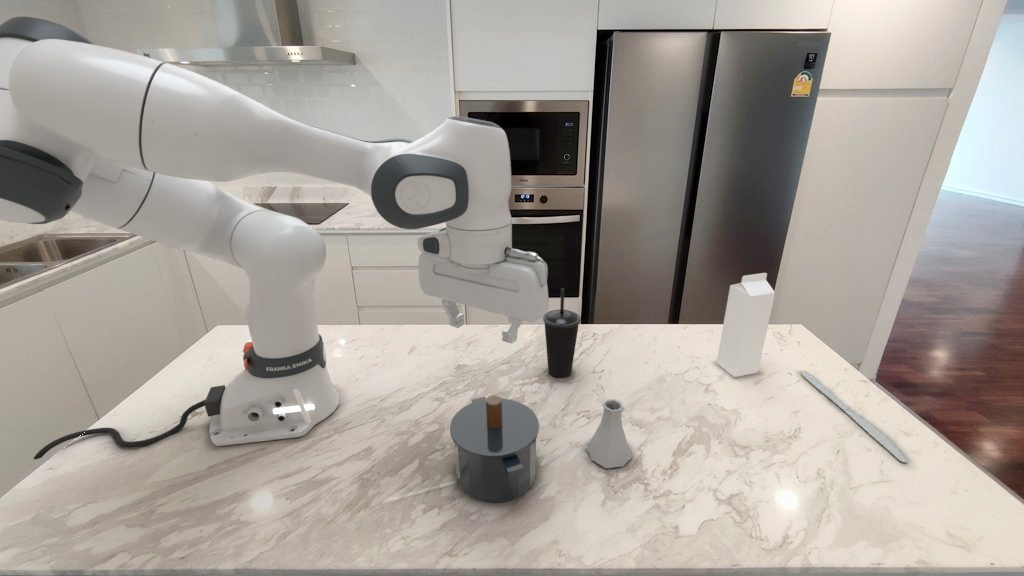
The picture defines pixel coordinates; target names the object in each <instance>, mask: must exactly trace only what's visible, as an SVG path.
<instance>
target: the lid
mask: <svg viewBox="0 0 1024 576" xmlns="http://www.w3.org/2000/svg"><path fill="white" fill-rule="evenodd" d="M539 432H540V422H539V419H538V416H537V415H536V413H535V412H534V410H532V409H531V407H529V406H527V405H526V404H525V403H522V402H520V401H517V400H514V399H509V398H502V397H501V396H499V395H490V396H488V397H486V399H483V400H479V401H476V402H473V403H472V402H471V403H469V404H467V405H464V406H463V407H461V409H459V410H458V411H457V412H456V413H455V414H454V416H453V417H452V419H451V421H450V424H449V433H450V437H451V441H452V442H453V443H454V444H455V445H456V446H457V447H458V448H459V449H461V450H462V451H464V452H465V453H467V454H469V455H472V456H475V457H479V458H485V459H500V458H506V457H510V456H514V455H516V454H519V453H521V452H523V451H524V450H526V449H527V448H529V447H530V446H531V445H532V444H533V443H534V441H535V440H536V441H537V438H538V435H539ZM454 444H453V445H454Z"/></svg>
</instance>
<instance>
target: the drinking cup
mask: <svg viewBox="0 0 1024 576" xmlns="http://www.w3.org/2000/svg"><path fill="white" fill-rule="evenodd" d="M559 307H560V309H553V310H548V311H547V312H546V313H545V314H544V315H543V316H542V322H544V333H545V346H546V358H547V359H546V360H547V371H548V374H549V376H550V377H552V378H554V379H559V380H560V379H567V378H569V377H570V376H571V375H572V372H573V371H572V370H573V366H574V365H573V364H574V357H575V352H576V344H577V338H578V331H579V326H580V325H579V324H580V323H581V320H582V319H581V316H580V315H579V314H578V313H577V312H576V311H571V310H568V309H565V288H563V287H561V288H560V305H559Z"/></svg>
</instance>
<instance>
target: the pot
mask: <svg viewBox="0 0 1024 576" xmlns="http://www.w3.org/2000/svg"><path fill="white" fill-rule="evenodd" d="M483 399H487V397H486V396H482V397H477V398H472V399H471V403H473V402H476V401H479V400H483ZM453 446H454V458H455V472H456V473H455V474H456V477H457V482H458V484H459V486H460V488H461V489H462V491H464V493H465V494H466V495H468V496H470V497H471V498H473V499H475V500H477V501H480V502H485V503H488V504H489V503H492V504H498V503H499V504H500V503H507V502H511V501H514V500H516V499H518V498H519V497H522V496H523V495H524V494H526V493H527V492H528V490H530V488H531V487H532V485H533V484H534V482H535V479H536V475H537V439H536V440H535V441H534V443H533V444H532V445H531V446H530V447H529V448H527V449H526V450H524V451H523V452H521V453H519V454H516V455H514V456H510V457H506V458H500V459H485V458H479V457H475V456H472V455H469V454H467V453H465V452H464V451H462V450H461V449H459V448H458V447H457V446H456V445H455V444H453Z"/></svg>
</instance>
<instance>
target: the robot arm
mask: <svg viewBox="0 0 1024 576" xmlns="http://www.w3.org/2000/svg"><path fill="white" fill-rule="evenodd" d="M511 165H512V161H511V152H510V146H509V141H508V137H507V133H506V132H505V130H504V128H502V127H501V126H500V125H498V124H497V123H495V122H493V121H487V120H483V119H478V118H476V119H475V118H472V117H466V116H460V115H459V116H458V115H457V116H455V115H454V116H451V117H447V118H446V119H445V121H444V122H443V123H442V124H440V125H439V126H438V127H436V128H435V129H434V130H432V131H431V132H429V133H427V134H425V135H424V136H422V137H420V138H418V139H416V140H414V141H413V140H410V139H405V138H390V139H389V138H388V139H381V140H374V141H373V140H371V141H370V140H369V141H368V140H362V139H358V138H355V137H351V136H347V135H343V134H341V133H337V132H334V131H330V130H328V129H327V130H326V129H323V128H320V127H316V126H313V125H309V124H306V123H302V122H300V121H297V120H294V119H292V118H290V117H288V116H286V115H284V114H281V113H280V112H277V111H275V110H273V109H272V108H269V107H268V106H266V105H264V104H262V103H261V102H258V101H256V100H255V99H253V98H251V97H249V96H247V95H246V94H243V93H241V92H240V91H237V90H235V89H233V88H231V87H229V86H227V85H225V84H224V83H221V82H219V81H216V80H214V79H212V78H210V77H207V76H205V75H202V74H200V73H197V72H194V71H192V70H189V69H187V68H184V67H181V66H178V65H175V64H172V63H168V62H165V61H162V60H158V59H155V58H152V57H148V56H145V55H141V54H138V53H133V52H129V51H125V50H122V49H117V48H114V47H113V48H112V47H107V46H104V45H97V44H95V43H94V42H93V41H91V40H90V39H88V37H85V36H84V35H83V34H82V33H79V32H78V31H76V30H74V29H72V28H69V27H67V26H65V25H64V24H60V23H59V22H58V23H57V22H56V21H52V20H48V19H45V18H38V17H32V16H13V17H10V18H9V19H7V20H6V21H3V22H2V23H1V24H0V221H2V222H6V223H7V222H8V223H17V224H29V225H46V224H49V223H52V222H55V221H56V222H57V221H58V220H61V219H63V218H64V217H65V216H67V215H68V213H69V212H73V213H75V214H77V215H80V216H82V217H85V218H87V219H89V220H92V221H95V222H97V223H100V224H103V225H106V226H108V227H110V228H114V229H117V230H121V231H123V232H126V233H130V234H133V235H136V236H139V237H141V238H144V239H148V240H150V241H153V242H157V243H160V244H163V245H166V246H169V247H171V248H173V249H174V248H175V249H178V250H181V251H185V252H190V253H193V254H197V255H200V256H204V257H208V258H211V259H213V260H217V261H220V262H223V263H226V264H229V265H232V266H234V267H237V268H239V269H241V270H243V271H245V273H246V275H247V278H248V281H249V302H248V304H247V306H246V307H245V311H244V317H245V319H246V324H247V327H248V331H249V335H250V339H251V341H248V342H247V341H246V342H245V344H244V345H243V349H242V352H243V358H242V361H243V368H244V369H243V370H242V371H241V372H240V373H238V374H237V375H236V376H235V377H234V378H233V379H231V380H230V381H229V383H227V385H225V384H222V385H216V386H211V387H210V388H209V391H208V393H207V395H206V397H205V399H203V400H201V401H199V402H197V403H194V404H192V405H191V406H189V407H188V408H187V409H186V410H185V411H184V412H183V413H182V415H181V417H180V421H179V423H178V424H177V425H175V426H174V427H172V428H171V429H170V430H168V431H165V432H163V433H161V434H159V435H157V436H153V437H151V438H147V439H143V440H136V441H126V440H124V439H123V438H122V436H121V434H120V432H119V431H118V430H117V429H115V428H113V427H98V428H91V429H85V430H80V431H76V432H72V433H70V434H66V435H63V436H61V437H59V438H57V439H54V440H53V441H50V442H49V443H48V444H46V445H44V447H42V448H40V450H39V451H38V452H37V453H36V454H35V456H34V457H33V460H39V459H40V458H43V457H44V455H46V454H47V453H48V452H49V451H51V450H52V449H54V448H55V447H57V446H59V445H61V444H63V443H65V442H68V441H70V440H73V439H77V438H81V437H85V436H91V435H97V434H109V435H111V436H112V437H113V439H114V442H115V443H116V445H118V446H119V447H121V448H127V449H129V448H138V447H143V446H147V445H148V446H149V445H152V444H155V443H157V442H159V441H162V440H164V439H166V438H169V437H170V436H172V435H174V434H176V433H178V432H179V431H180V430H182V429H183V428H184V427H185V426H186V425H187V422H188V418H189V416H190V415H191V414H192V413H193V412H195V411H197V410H199V409H200V408H203V407H204V408H205V411H206V415H207V417H212V418H211V421H210V423H209V431H208V433H209V438H210V442H211V443H212V444H213V445H214V446H216V447H223V446H232V445H242V444H251V443H259V442H268V441H277V440H278V441H279V440H285V439H295V438H301V437H303V436H305V435H307V434H308V433H309V432H310V431H311V430H312V429H313V427H314V426H315V425H317V424H319V423H321V422H322V421H324V420H325V419H327V418H328V417H329V416H330V415H332V414H334V412H335V411H336V409H337V408H338V406H339V404H340V401H341V396H340V394H339V392H338V391H337V389H336V387H335V385H334V383H333V381H332V379H331V376H330V374H329V373H330V372H329V371H328V368H327V359H328V358H327V353H326V348H325V343H324V342H323V337H322V335H321V333H320V332H319V329H318V327H319V326H318V322H317V316H316V310H315V303H314V302H315V301H314V289H315V281H316V277H317V276H318V275H319V273H320V272H321V271H322V269H323V267H324V266H325V262H326V258H327V246H326V243H325V241H324V238H323V237H322V236H321V234H320V233H319V232H318V231H317V230H316V229H314V228H313V227H312V226H311V225H310V224H308V223H306V222H305V221H304V220H302V219H300V218H298V217H295V216H293V215H289V214H285V213H281V212H277V211H274V210H271V209H268V208H265V207H262V206H259V205H257V204H254V203H252V202H250V201H248V200H246V199H245V198H241V197H240V196H238V195H235V194H234V193H232V192H230V191H227V190H226V189H225V188H222V187H220V186H218V185H217V184H215V183H213V182H218V183H227V182H233V181H237V180H241V179H244V178H245V179H246V178H248V177H253V176H258V175H262V174H263V175H264V174H268V173H270V174H271V173H292V174H298V175H302V176H307V177H312V178H316V179H320V180H323V181H328V182H332V183H337V184H340V185H341V184H342V185H344V186H345V185H346V186H349V187H353V188H356V189H358V190H360V191H362V192H364V193H365V194H367V195H368V196H369V197H371V201H372V203H373V206H374V208H375V210H376V212H377V213H378V214H379V216H380V217H381V218H382V219H383V220H385V222H387V223H388V224H390V225H392V226H394V227H396V228H399V229H403V230H419V229H424V228H428V227H432V226H436V225H441V224H445V227H444V228H443V227H442V228H441V229H437V230H434V231H432V232H428V233H427V234H424V235H422V236H420V237H418V239H417V247H418V250H419V251H420V252H421V253H420V254H419V256H418V265H417V266H418V281H419V287H420V289H421V291H422V292H423V294H424V295H426V296H429V297H433V298H436V299H441V305H442V307H443V309H444V311H445V313H446V315H447V317H448V321H449V326H450V327H453V328H456V329H460V328H461V327H463V326H464V324H465V320H464V319H465V314H464V313H461V312H460V310H459V308H458V305H457V304H459V305H463V306H467V307H471V308H475V309H478V310H483V311H487V312H490V313H494V314H496V315H497V314H498V315H502V316H506V317H507V319H508V323H510V324H511V325H510V326H509V325H508V326H507V327H506V328H505V329H504V328H503V330H502V331H501V336H502V338H501V340H502V342H505V343H508V344H511V345H512V344H514V343H515V342H517V340H518V330H519V328H520V326H522V324H523V322H528V323H535V322H537V321H539V320H540V319H541V318H543V316H544V314H546V313H547V312H549V308H550V301H549V299H550V298H549V287H548V274H549V273H548V271H549V269H548V268H549V267H548V264H547V262H546V261H545V260H544V259H543V258H542V257H540V256H539V254H538V253H536V252H534V251H525V250H522V249H518V248H513V219H512V214H511V211H510V205H509V204H510V203H509V202H510V197H511V193H512V166H511ZM84 432H85V433H84ZM82 434H83V435H82ZM80 435H81V436H80ZM79 436H80V437H79Z"/></svg>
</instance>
